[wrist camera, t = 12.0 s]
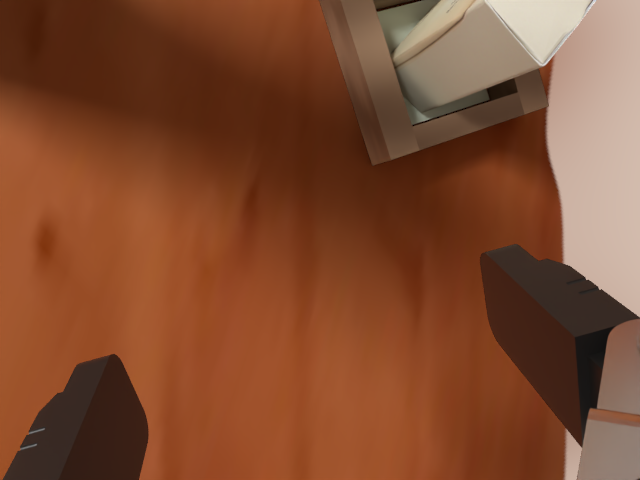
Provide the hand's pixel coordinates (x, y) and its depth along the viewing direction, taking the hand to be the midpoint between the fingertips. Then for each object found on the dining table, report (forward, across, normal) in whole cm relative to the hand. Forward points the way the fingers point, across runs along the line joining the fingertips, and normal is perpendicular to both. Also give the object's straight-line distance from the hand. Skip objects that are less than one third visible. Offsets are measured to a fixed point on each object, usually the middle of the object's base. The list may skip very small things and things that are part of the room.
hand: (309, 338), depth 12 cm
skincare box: (+27, -12, -1) cm, 30 cm away
